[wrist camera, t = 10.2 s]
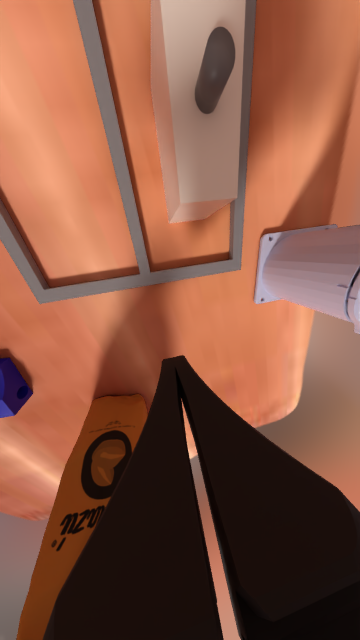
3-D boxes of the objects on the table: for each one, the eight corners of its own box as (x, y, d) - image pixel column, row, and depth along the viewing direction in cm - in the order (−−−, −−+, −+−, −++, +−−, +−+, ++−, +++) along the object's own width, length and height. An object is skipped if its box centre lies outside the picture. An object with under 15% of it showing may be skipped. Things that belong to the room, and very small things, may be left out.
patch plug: (199, 90, 10) (283, -198, 4) (204, 219, 14) (253, 187, 7) (150, 90, 10) (151, -232, 3) (168, 223, 14) (186, 193, 7)
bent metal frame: (249, -12, 9) (258, -34, 8) (236, 269, 17) (240, 269, 16) (-154, -40, 7) (-190, -74, 6) (45, 301, 14) (39, 303, 14)
